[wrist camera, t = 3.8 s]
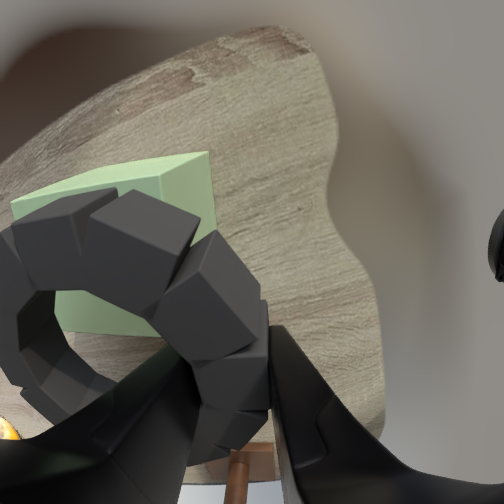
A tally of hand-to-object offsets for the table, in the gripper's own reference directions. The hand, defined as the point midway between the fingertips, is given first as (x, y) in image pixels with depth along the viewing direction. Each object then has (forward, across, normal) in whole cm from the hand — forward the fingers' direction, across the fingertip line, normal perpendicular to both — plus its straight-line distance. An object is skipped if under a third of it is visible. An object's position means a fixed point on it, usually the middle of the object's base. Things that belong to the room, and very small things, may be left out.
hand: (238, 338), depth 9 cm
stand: (+12, +4, +29) cm, 32 cm away
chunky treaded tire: (0, +4, 0) cm, 4 cm away
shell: (+13, +47, +34) cm, 59 cm away
